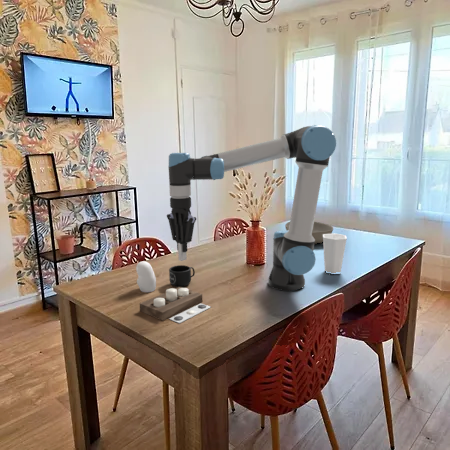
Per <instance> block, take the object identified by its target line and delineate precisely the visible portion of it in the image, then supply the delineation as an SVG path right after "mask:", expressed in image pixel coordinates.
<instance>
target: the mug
mask: <svg viewBox="0 0 450 450" xmlns="http://www.w3.org/2000/svg"><path fill="white" fill-rule="evenodd" d="M168 272H169V273H168V274H169V275H168V276H169V277H168V278H169V283H170V284H171V285H172V286H173V287H176V288H178V287H182V288H184V287H185V286H188V285H189V284H191V282H192V281H191V280H192V278H193V277H195V273H196V271H195V268H194V267H193V266H188V265H184V264H180V265H178V264H177V265H173V266H171V267H169V269H168Z"/></svg>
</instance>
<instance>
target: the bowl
mask: <svg viewBox="0 0 450 450" xmlns="http://www.w3.org/2000/svg"><path fill="white" fill-rule="evenodd" d="M289 225H290V221H289V222H286V224H285V225H284V226H285V230H289ZM333 231H334V227H333V226H332V225H330V224H328V223H324V222H318V221H314V224H313V230H312V236H313V238H314V239H315V243H314V245H318V244H317V243H320V244H323V243H322V242H323V234H331V233H333Z"/></svg>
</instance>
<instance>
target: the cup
mask: <svg viewBox="0 0 450 450" xmlns="http://www.w3.org/2000/svg"><path fill="white" fill-rule="evenodd" d="M322 245H323V246H322V247H323V260H324V264H323V265H324V272H325V271H327V272H331V273H336V272H341V273H342V267H343V261H344V256H345V255H344V254H345V252H346V251H345V250H346V245H347V235H345V234H342V233H341V234H340V233H333V232H332V233H331V234H323V243H322Z"/></svg>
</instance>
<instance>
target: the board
mask: <svg viewBox="0 0 450 450" xmlns="http://www.w3.org/2000/svg"><path fill="white" fill-rule="evenodd" d="M180 288H183V287H176V288H175V289H177V300H176V301H174V302H169V301H166V292H163V293H162V294H159V295H157V296H154V297H152V298H149V299H147V300H144V301H142V302H140V303H139V312H142V313H143V314H145V315H149V316H151V317H153V318H155V319H158V320H160V321H165V320H168V319H169V318H171V317H174V316H176V315H178V314H180V313H182V312H184V311H186V310H188V309H190V308H192V307H194V306H196V305H198V304H200V303H201V304H202V303H203V293H200V292H197V291H193V290H191V289H189V295H187V296H185V297H181V296H179V295H178V289H180ZM156 298H164V299H165V306H162V307H160V308H157V307H155V306H154V299H156Z"/></svg>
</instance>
